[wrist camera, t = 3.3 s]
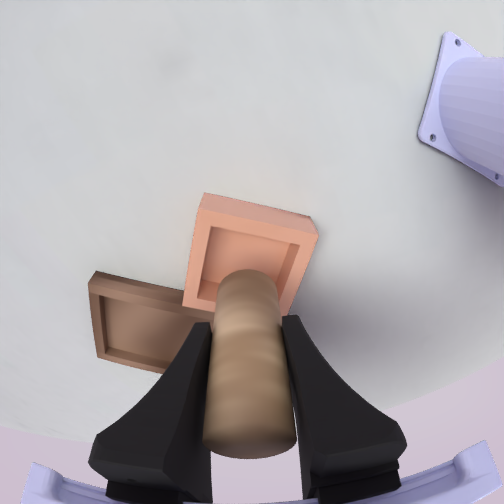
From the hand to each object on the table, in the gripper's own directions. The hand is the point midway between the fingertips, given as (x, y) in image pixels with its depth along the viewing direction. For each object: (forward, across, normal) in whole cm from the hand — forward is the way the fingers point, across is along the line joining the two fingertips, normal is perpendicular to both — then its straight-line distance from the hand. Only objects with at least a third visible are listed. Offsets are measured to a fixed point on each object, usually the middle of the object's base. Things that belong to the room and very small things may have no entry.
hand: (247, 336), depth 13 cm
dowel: (+3, 0, 0) cm, 3 cm away
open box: (+7, 0, 0) cm, 7 cm away
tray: (+7, +6, +7) cm, 11 cm away
